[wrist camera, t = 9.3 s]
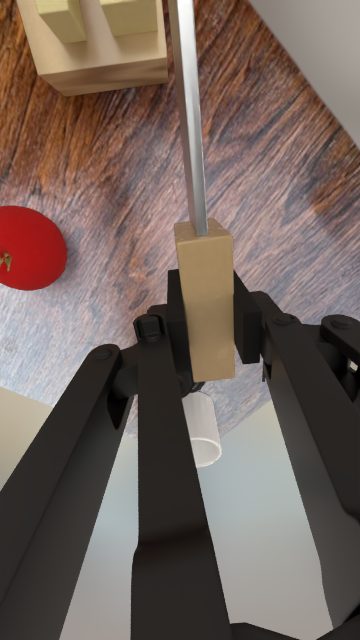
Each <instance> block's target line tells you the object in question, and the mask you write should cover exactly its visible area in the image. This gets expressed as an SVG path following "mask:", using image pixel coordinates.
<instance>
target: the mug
mask: <svg viewBox="0 0 360 640" xmlns="http://www.w3.org/2000/svg"><path fill="white" fill-rule="evenodd" d="M182 402H183V407H184V412H185V417H186V421H187V426H188V431H189V436H190V441H191V445H192V450H193V455H194V460H195V464H196V467H203V466H207V465H210V464H212V463H214V462H215V461H216V460H217V459H218V458H219V457H220V456H221V453H222V450H221V443H220V438H219V433H218V428H217V423H216V417H215V412H214V407H213V402H212V400H211V398H210V397H209V396H207V395H206V394H204V393H201V392H194V393H189V394H188V395H187V396H186V397H184V398H182Z"/></svg>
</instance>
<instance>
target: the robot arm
mask: <svg viewBox="0 0 360 640" xmlns="http://www.w3.org/2000/svg"><path fill="white" fill-rule="evenodd" d="M233 275H234V294H233V314H234V342H235V345H236V348H237V350H238V353H239V355H240V358H241V360H242V363H243V364H252V363H260V354H261V356H262V358H263V375H262V382H265V378H266V381H267V384H268V387H269V391H270V394H271V397H272V401H273V404H274V408H275V411H276V414H277V417H278V421H279V424H280V428H281V431H282V434H283V438H284V441H285V445H286V448H287V451H288V455H289V458H290V461H291V465H292V468H293V471H294V475H295V478H296V481H297V485H298V488H299V492H300V495H301V498H302V502H303V505H304V508H305V512H306V515H307V518H308V521H309V525H310V529H311V532H312V535H313V539H314V542H315V545H316V549H317V552H318V556H319V559H320V565H321V571H322V583H323V589H324V593H325V599H326V603H327V607H328V611H329V615H330V618H331V621H332V625H333V628H334V629H333V630H332V631H330V632H328V633H327V634H325V635H323V636H322V637H320V638H318V639H317V640H360V322H359V321H358V320H356V319H354V318H352V317H348V316H345V315H339V314H335V315H328V316H325V317H324V318H323V319H322V320H321V325H308V324H302V323H301V322H300V320H299V319H298V318H297V317H296V316H293V315H291V314H287V313H283V312H282V311H281V310H280V308H279V307H278V306H277V305H276V304H275V302H274V301H273V300H272V299H271V298H270V296H269V295H268V294H266V293H264V292H262V291H255V292H249V291H248V290H247V288H246V287H245V285H244V284H243V282H242V281H241V279H240V278H239V277H238V275H237V274H236V272H235V271H234V269H233ZM133 325H134V329H135V333H136V337H137V344H135V345H133V346H131V347H129V348H126V349H123V350H120V348H119V347H118V346H117V345H115V344H104V345H101V346H98V347H96V348H95V349H93V350H92V351H91V352H90V353H89V354H88V355H87V357H86V358H85V360H84V361H83V363H82V365H81V366H80V368H79V369H78V371H77V372H76V374H75V376H74V377H73V379H72V380H71V382H70V383H69V385H68V386H67V388H66V390H65V391H64V393H63V394H62V396H61V397H60V399H59V401H58V402H57V404H56V405H55V407H54V408H53V410H52V412H51V413H50V415H49V416H48V418H47V419H46V421H45V423H44V424H43V426H42V427H41V429H40V430H39V432H38V434H37V435H36V437H35V438H34V440H33V442H32V443H31V444H30V446H29V448H28V449H27V451H26V452H25V454H24V455H23V457H22V458H21V460H20V462H19V463H18V465H17V466H16V468H15V469H14V471H13V473H12V474H11V476H10V477H9V479H8V480H7V482H6V483H5V485H4V487H3V488H2V490H1V491H0V640H59V638H60V634H61V631H62V628H63V625H64V621H65V619H66V615H67V612H68V609H69V606H70V602H71V599H72V596H73V593H74V589H75V586H76V583H77V580H78V577H79V574H80V570H81V567H82V564H83V561H84V557H85V554H86V551H87V548H88V544H89V541H90V538H91V535H92V532H93V528H94V525H95V522H96V519H97V516H98V512H99V509H100V506H101V503H102V500H103V496H104V493H105V490H106V487H107V483H108V480H109V477H110V474H111V470H112V467H113V464H114V461H115V458H116V454H117V451H118V448H119V445H120V442H121V438H122V435H123V432H124V429H125V426H126V422H127V419H128V416H129V413H130V409H131V406H132V403H133V400H134V395H136V394H138V507H139V509H138V512H139V536H138V546H137V548H136V550H135V553H134V556H133V564H132V579H131V640H299V639H296V638H293V637H289V636H287V635H283V634H280V633H277V632H274V631H271V630H267V629H264V628H261V627H258V626H255V625H252V624H248V623H232V624H230V622H229V618H228V612H227V608H226V603H225V599H224V594H223V589H222V584H221V579H220V575H219V571H218V565H217V561H216V556H215V551H214V547H213V542H212V538H211V534H210V530H209V526H208V521H207V517H206V512H205V508H204V502H203V498H202V493H201V488H200V484H199V479H198V474H197V469H196V464H195V460H194V455H193V450H192V445H191V441H190V436H189V431H188V426H187V421H186V417H185V412H184V407H183V402H182V398H181V393H180V388H179V383H178V379H177V374H176V373H177V372H185V371H192V367H191V358H190V349H189V341H188V334H187V326H186V319H185V311H184V304H183V296H182V289H181V281H180V274H179V269H175V270H168V291H167V304H161V305H153V306H151V307H150V308H149V309H148V310H147V314H143V315H141V316H139V317H137V318H136V319H135V320H134V322H133ZM351 361H352V362H354V363H355V364H356V365H357V366H358V368H357V370H356V371H355V370H353V369H352V368H351V367H350V364H351Z"/></svg>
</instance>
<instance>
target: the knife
mask: <svg viewBox="0 0 360 640" xmlns="http://www.w3.org/2000/svg"><path fill="white" fill-rule="evenodd" d="M168 7H169V17H170V27H171V37H172V47H173V57H174V68H175V78H176V88H177V98H178V108H179V118H180V128H181V138H182V148H183V158H184V168H185V178H186V188H187V198H188V208H189V218H190V221H189V222H182V223H175V224H174V232H175V243H176V251H177V259H178V266H179V274H180V281H181V289H182V296H183V304H184V311H185V319H186V326H187V334H188V341H189V349H190V357H191V364H192V372H193V379H194V382H203V381H211V380H220V379H228V378H235V342H234V314H233V294H234V275H233V236H232V235H231V234H230V233H229V232H228V231H227V230H226V229H225V228H224V227H223V226H222V225H221V224H220V223H218V222H217V221H216V220H215V219H214V218H210V219H207V205H206V190H205V174H204V159H203V143H202V128H201V113H200V97H199V82H198V66H197V51H196V36H195V20H194V5H193V0H168Z"/></svg>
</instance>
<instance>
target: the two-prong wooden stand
mask: <svg viewBox="0 0 360 640" xmlns="http://www.w3.org/2000/svg"><path fill="white" fill-rule="evenodd" d="M16 1H17V5H18V8H19V11H20V15H21V18H22V22H23V25H24V28H25V32H26V35H27V39H28V42H29V45H30V49H31V52H32V56H33V59H34V62H35V66H36V69H37V73H38V75H39V76H40V77H41V78H43V79H44V80H45V81H46V82H48V83H49V84H50V85H51V86H53V87H54V88H55V89H57V90H58V91H59V92H60V93H62V94H63V95H64V96H65V97H67V96H74V95H82V94H89V93H96V92H103V91H111V90H118V89H125V88H133V87H140V86H147V85H154V84H162V83H168V67H167V48H166V38H165V28H164V18H163V7H162V0H156V9H157V22H158V30H157V31H150V32H143V33H136V34H129V35H122V36H115V37H114V36H113V35H112V32H111V30H110V27H109V25H108V22H107V20H106V17H105V15H104V12H103V10H102V7H101V5H100V0H79V4H80V9H81V13H82V18H83V23H84V28H85V33H86V37H87V40H86V41H80V42H73V43H66V44H62V43H61V42H60V41H59V39H58V38H57V37H56V36H55V34H54V33H53V32H52V31H51V29H50V28H49V27H48V26H47V24H46V23H45V22H44V21H43V19H42V18H41V17H40V16H39V14H38V12H37V8H36V4H35V0H16Z"/></svg>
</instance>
